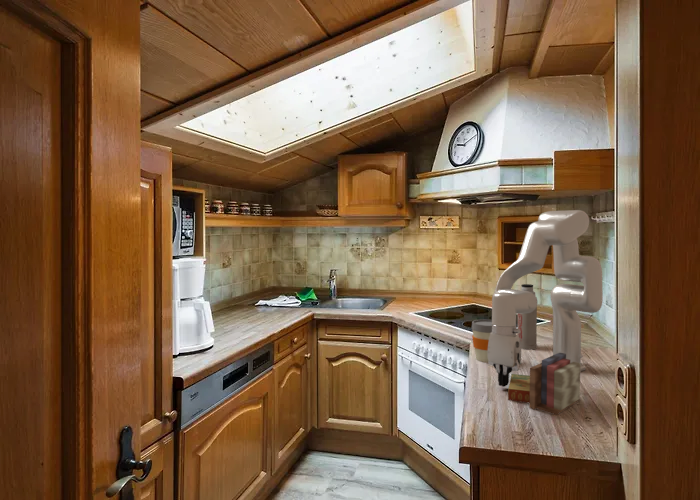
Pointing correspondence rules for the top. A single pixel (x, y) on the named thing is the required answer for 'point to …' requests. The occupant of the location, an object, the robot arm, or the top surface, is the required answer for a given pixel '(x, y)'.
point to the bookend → (554, 384)
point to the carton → (519, 388)
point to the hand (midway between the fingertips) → (503, 385)
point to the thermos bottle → (527, 325)
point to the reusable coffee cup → (481, 338)
